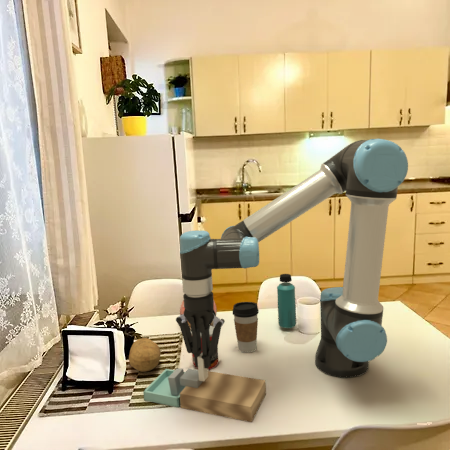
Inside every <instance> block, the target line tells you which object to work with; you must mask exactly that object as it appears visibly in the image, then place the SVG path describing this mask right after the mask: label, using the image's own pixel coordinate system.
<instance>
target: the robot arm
mask: <svg viewBox="0 0 450 450" xmlns="http://www.w3.org/2000/svg"><path fill="white" fill-rule="evenodd" d="M408 171H409V160H408V157H407V155H406V153H405V151H404V150H403V148H402V147H401V146H400V145H399V144H397V143H395V142H393V140H388V139H385V138H370V139H359V140H356V141H354V142H352V143H349V144H348V145H346V146H345V147H344V148H342V149H341V150H339V151H338V152H337V153H335V154H334V155H333V156H331V157H330V158H329V159H327V160H326V161H324V162H323V163H321V166H320V169H319V170H318V171H316V172H315V173H313V174H312V175H309V176H308V177H307V178H305V179H304V180H302V181H301V182H299V183H297V184H296V185H294V186H293V187H292V188H290V189H289V190H287V191H285V192H284V193H282V194H281V195H279V196H277V197H276V198H275V199H273V200H272V201H270V202H269V203H267V204H266V205H264V206H262V207H261V208H260V209H258V210H257V211H255V212H254V213H252V214H251V215H248V216H247V217H246V218H244V219H242V220H241V221H240V222H238V223H237V224H235V225H231V226H228V227H227V228H226V229H224V231H223V232H222V234H221V237H220V238H211V235H210V233H209V232H208V231H207V230H190V231H185V232H182V233H181V235H180V236H179V258H180V259H179V260H180V266H181V267H180V268H181V280H182V281H181V282H182V283H181V284H182V293H183V295H182V296H183V297H182V298H183V300H184V308H185V310H184V314H181V315H180V314H179V316H177V317H176V318H175V322H176V323H177V325H178V326H179V328H180V331H181V332H180V333H181V335H182V339H183V342H184V345H185V346H184V347H185V348H186V349H185V350H186V353H188V354H191V355H192V354H193V355H194V357H195V366H196V367H198V368H197V370H198V373H199V381H205V380H206V378H207V377H208V371H209V369H208V368H209V367H210V365H211V363H210V356H213V355H214V354H215V353H216V351H217V347H218V346H219V341H220V336H221V329H222V327H223V325H224V324H225V321H226V320H225V319H223V318H221V319H220V318H219V317H218V316H217V314H216V313H215V311H214V302H215V300H214V292H213V290H214V287H213V274H212V273H213V272H212V271H213V270H226V269H227V270H230V269H249V268H255V267H258V266H259V264H260V246H259V245H260V244H259V243H260V242H262V241H263V240H265V239H266V238H268V237H269V236H271V235H273V234H274V233H276V232H277V231H279V230H280V229H281V228H283V227H285V226H287V225H288V224H289V223H291V222H293V221H294V220H296V219H298V218H299V217H301V216H302V215H305V213H307V212H308V211H309V210H311V209H313V208H315V207H316V206H318V205H319V204H321V203H322V202H324V201H326V200H327V199H328V198H330V197H332V196H333V195H335V194H339V195H342V194H343V193H345V196H346V197H347V198H348V200H349V202H351V204H350V212H349V214H350V215H349V221H348V222H349V223H348V232H347V233H348V234H347V242H346V243H347V244H346V251H345V252H346V253H345V264H344V273H343V284H342V285H343V286H342V287H341V286H335V287H328V288H325V289H323V290H321V292H320V298H319V303H320V305H319V306H320V340H319V343H318V346H317V348H316V352H315V356H314V357H315V358H314V363H315V366H316V367H317V369H318V370H319V371H321V372H323V373H325V374H326V375H328V376H332V377H336V378H337V377H338V378H346V379H347V378H355V377H359V376H363V375H364V374H366V373H367V372H368V370H369V367H370V365H369V362H370V361H372V360H373V361H374V360H375V358H377V357H379V356H380V355H381V354H382V353H383V352H384V351H385V349H386V347H387V344H388V336H387V333H386V329H385V328H384V326H383V325H382V323H383V317H384V316H383V315H384V306H383V305H382V303H381V302H380V300H379V292H380V283H381V275H382V267H383V266H382V265H383V258H384V249H385V242H386V240H385V239H386V233H387V232H386V231H387V223H388V217H389V216H388V213H389V206H390V205H391V204H392V203H393V202H394V201H395V200H397V196H398V191H399V189H398V188H399V186H400V185H401V184H402V183H403V182H404V181H405V179H406V178H407V175H408ZM213 300H214V301H213ZM187 321H188V322H189V323H190V325H191V327H189V324H188V322H187ZM212 321H213V322H212ZM211 322H212V323H213V324H212V323H211ZM211 324H212V326H213V327H214V329H213V334H212V339H211V344H210V334H209V329H210V326H211ZM191 332H192V334H191ZM200 333H201V334H200ZM201 340H202V349H201ZM218 348H219V347H218ZM201 351H202V353H201ZM195 366H194V367H195ZM196 367H195V368H196Z"/></svg>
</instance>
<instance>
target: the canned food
mask: <svg viewBox="0 0 450 450" xmlns="http://www.w3.org/2000/svg"><path fill="white" fill-rule="evenodd" d="M213 329H214V326H213V325H210V329H209V334H210V344H211V339H212V334H213ZM191 334H192V332H191ZM200 334H201V333H200ZM201 349H202V340H201ZM201 353H202V351H201ZM191 359H192V365H193V367H195V368H196V369H198V367H196V366H195V357H194V355H193V354H192V353H191ZM210 363H211V365H210V367H209V368H208V370H212V369H215V368H216V367H217V366H218V364H219V347H217V351H216V353H215V354H214V355H213V356H210Z"/></svg>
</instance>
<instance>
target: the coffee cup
mask: <svg viewBox="0 0 450 450" xmlns="http://www.w3.org/2000/svg"><path fill="white" fill-rule="evenodd" d="M259 312H260V310H259V307H258V303H256V302H253V301H239V302H237V303H234V305H233V308H232V315H233V318H234V319H233V323H234V329H235V336H236V340H237V348H238V351H240V352H241V353H252V352H255V351H256V350H257V341H258V340H257V338H258V327H259V326H258V324H259V323H258V322H259V318H258V314H260V313H259Z"/></svg>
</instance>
